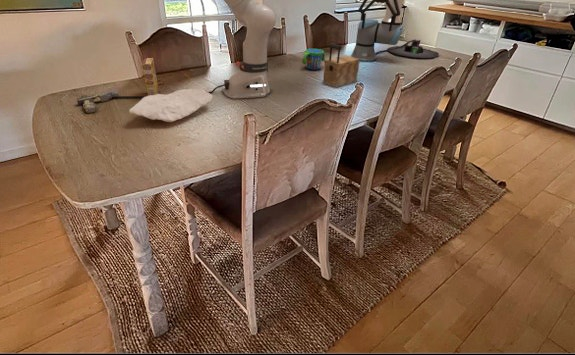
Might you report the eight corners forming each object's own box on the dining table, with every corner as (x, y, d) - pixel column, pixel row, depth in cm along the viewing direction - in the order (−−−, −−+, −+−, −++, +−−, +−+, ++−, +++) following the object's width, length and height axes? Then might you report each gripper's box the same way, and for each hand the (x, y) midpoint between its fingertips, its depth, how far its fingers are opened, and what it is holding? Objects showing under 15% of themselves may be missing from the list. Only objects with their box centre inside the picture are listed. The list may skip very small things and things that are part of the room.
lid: (337, 66, 179) (340, 47, 174) (324, 62, 185) (325, 43, 180) (359, 61, 189) (362, 42, 184) (345, 57, 195) (347, 39, 190)
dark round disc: (449, 54, 250) (452, 40, 246) (416, 60, 233) (418, 45, 228) (408, 47, 275) (410, 34, 270) (376, 52, 257) (377, 38, 253)
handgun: (128, 97, 156) (111, 87, 164) (86, 107, 144) (70, 97, 152) (129, 103, 157) (113, 94, 165) (88, 114, 146) (72, 103, 154)
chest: (336, 87, 185) (338, 66, 180) (322, 82, 191) (324, 62, 185) (356, 81, 195) (359, 61, 189) (343, 77, 200) (345, 57, 195)
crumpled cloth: (117, 110, 146) (113, 90, 140) (195, 92, 166) (194, 73, 160) (143, 139, 134) (140, 118, 128) (223, 116, 154) (224, 96, 148)
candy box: (157, 97, 164) (152, 63, 155) (147, 98, 163) (141, 63, 155) (158, 91, 171) (153, 57, 163) (149, 91, 170) (143, 58, 162)
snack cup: (318, 64, 219) (319, 47, 214) (329, 69, 212) (331, 51, 206) (297, 67, 212) (297, 49, 206) (307, 72, 204) (308, 54, 199)
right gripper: (355, -21, 170) (349, 27, 181) (410, -17, 162) (400, 33, 173) (359, -22, 175) (353, 25, 187) (412, -18, 168) (402, 30, 179)
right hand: (376, 29), depth 180 cm, fingers open, 13 cm apart
